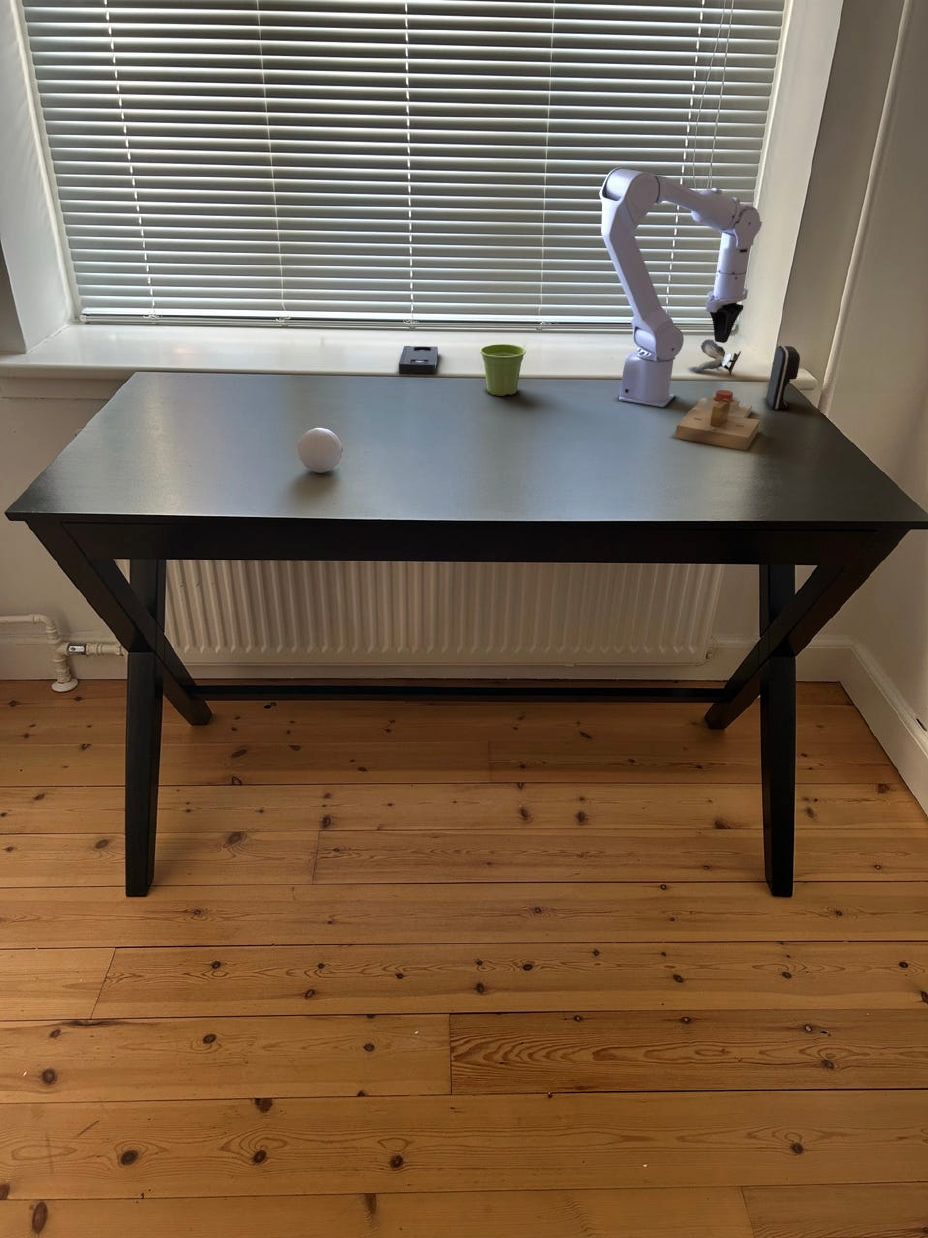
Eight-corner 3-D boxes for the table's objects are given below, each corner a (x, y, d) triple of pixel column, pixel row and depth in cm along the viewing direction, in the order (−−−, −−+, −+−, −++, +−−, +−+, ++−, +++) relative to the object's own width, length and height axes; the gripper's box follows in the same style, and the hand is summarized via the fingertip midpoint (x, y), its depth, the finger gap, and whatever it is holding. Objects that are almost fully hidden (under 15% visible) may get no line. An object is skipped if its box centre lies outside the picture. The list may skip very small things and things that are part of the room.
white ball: (345, 478, 146) (342, 435, 142) (300, 481, 145) (296, 438, 141) (341, 455, 155) (338, 414, 151) (298, 457, 153) (294, 417, 149)
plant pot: (472, 395, 182) (473, 353, 177) (488, 382, 189) (489, 341, 185) (515, 401, 179) (516, 358, 174) (529, 387, 187) (532, 346, 182)
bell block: (690, 416, 173) (692, 401, 171) (700, 404, 179) (703, 389, 177) (742, 424, 169) (744, 409, 167) (750, 412, 175) (753, 397, 173)
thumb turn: (716, 426, 160) (720, 406, 158) (709, 425, 161) (713, 404, 159) (727, 419, 164) (731, 399, 162) (720, 417, 165) (723, 397, 162)
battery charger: (791, 411, 175) (803, 353, 169) (771, 410, 176) (783, 352, 170) (784, 399, 181) (796, 343, 175) (765, 398, 182) (776, 342, 175)
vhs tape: (434, 373, 195) (434, 364, 193) (399, 372, 195) (398, 363, 194) (438, 354, 207) (438, 346, 205) (404, 354, 207) (404, 345, 206)
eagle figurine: (738, 363, 199) (700, 350, 201) (744, 341, 192) (705, 329, 194) (725, 388, 196) (687, 375, 198) (731, 367, 190) (692, 354, 192)
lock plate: (674, 438, 163) (676, 424, 161) (689, 421, 170) (691, 408, 169) (746, 450, 158) (748, 436, 156) (757, 432, 165) (760, 419, 164)
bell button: (712, 402, 172) (714, 393, 171) (716, 397, 174) (718, 388, 173) (729, 404, 170) (731, 396, 169) (733, 400, 173) (734, 391, 172)
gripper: (728, 262, 179) (718, 330, 187) (695, 274, 170) (686, 345, 177) (761, 267, 175) (750, 336, 183) (729, 279, 166) (718, 352, 173)
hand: (720, 341), depth 180 cm, fingers closed
